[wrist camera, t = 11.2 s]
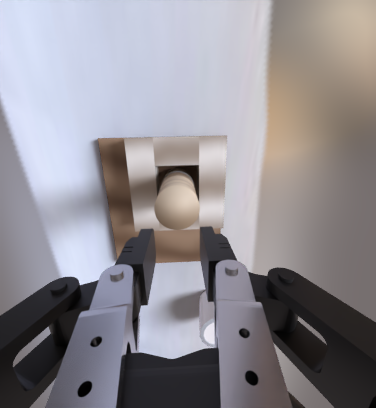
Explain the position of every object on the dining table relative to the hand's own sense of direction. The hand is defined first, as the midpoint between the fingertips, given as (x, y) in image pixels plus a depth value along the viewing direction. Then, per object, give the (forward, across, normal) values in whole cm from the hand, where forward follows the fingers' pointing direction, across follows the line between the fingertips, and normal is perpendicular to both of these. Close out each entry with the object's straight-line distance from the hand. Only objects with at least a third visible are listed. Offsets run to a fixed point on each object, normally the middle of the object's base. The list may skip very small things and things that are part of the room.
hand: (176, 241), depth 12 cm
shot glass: (+19, -6, +24) cm, 31 cm away
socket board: (+19, +2, +4) cm, 20 cm away
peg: (+18, 0, 0) cm, 18 cm away
